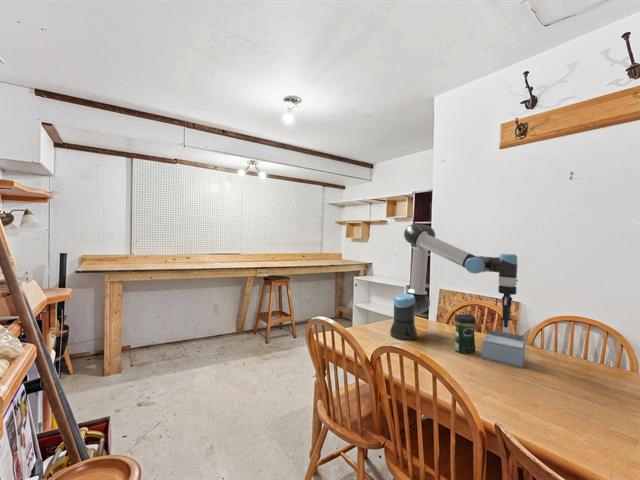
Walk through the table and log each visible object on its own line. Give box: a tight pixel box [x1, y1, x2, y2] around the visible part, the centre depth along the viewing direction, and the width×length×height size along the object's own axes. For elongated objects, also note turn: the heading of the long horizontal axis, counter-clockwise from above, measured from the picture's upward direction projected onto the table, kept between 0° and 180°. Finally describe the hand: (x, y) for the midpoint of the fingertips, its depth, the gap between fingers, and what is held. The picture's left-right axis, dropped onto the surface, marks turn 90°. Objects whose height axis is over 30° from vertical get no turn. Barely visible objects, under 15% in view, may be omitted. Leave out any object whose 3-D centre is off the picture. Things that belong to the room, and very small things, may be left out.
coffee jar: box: [453, 313, 477, 354], centre depth 155 cm, size 10×8×19 cm
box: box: [481, 341, 526, 369], centre depth 145 cm, size 16×12×8 cm
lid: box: [482, 329, 526, 349], centre depth 146 cm, size 16×12×3 cm
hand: (505, 333), depth 151 cm, fingers closed
